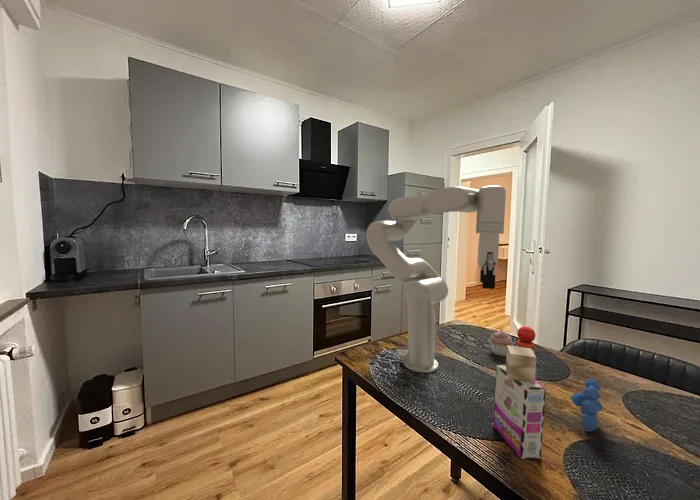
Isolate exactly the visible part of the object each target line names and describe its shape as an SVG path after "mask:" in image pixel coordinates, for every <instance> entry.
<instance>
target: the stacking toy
mask: <svg viewBox="0 0 700 500" xmlns="http://www.w3.org/2000/svg"><path fill="white" fill-rule="evenodd" d="M516 334H517V337H518V340H517V341H516V345H515V346H516V347H524V348H531V350H532V351H533V353H534V354H535V353H536V352H535V343H534V342H533V341H534V340H535V339H536V331H535V330H534V329H533V328H531V327H530V326H526V325H525V326H521V327H518V330H517V331H516ZM537 373H538V369H537V368H536V369H535V381H537V382H538V380H537V378H538V377H537Z"/></svg>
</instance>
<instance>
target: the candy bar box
mask: <svg viewBox="0 0 700 500" xmlns="http://www.w3.org/2000/svg"><path fill="white" fill-rule="evenodd" d="M495 373H496V374H495V389H494V390H495V391H494V405H493V406H494V408H493V423H492V426H493V428H494V429H495V430H496V431H497V432H498V434H499V435H500V436H501V437H502V439H503V440H504V441H505V442H506V443H507V445H508V446H509V447H510V448H511V449H512V450H513V451H514V452H515V454H516V455H517V456H518V457H519V458H520V460H537V459H539V460H540V459H541V458H542V449H543V432H544V419H545V418H544V417H545V405H546V404H545V403H546V391H547V388H546V387H545V386H544V385H542V384H541V383H539V382H538V380H537V381H535V383H529V382H523V381H517V380H511V379H509V377H508V374H507V371H506V364H503V365H502V364H498V365H497V364H496V370H495Z"/></svg>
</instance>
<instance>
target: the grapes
mask: <svg viewBox="0 0 700 500" xmlns="http://www.w3.org/2000/svg"><path fill="white" fill-rule="evenodd" d="M584 386H585V388H584V389H583V390H582V391H581V394H580V393H579V392H576V393H573V394H572V395H571V396H570V397H569V398H570V400H571V401H572V402H573V404H574V405H575V406H577V407H579V408H580V412H581V413H582V415H581V419H582V420H580V421H581V424H582V426H583V427H584V428H585V430H586V431H588V432H593V431H595V430H597V429H598V428H599V426H598V423H600V422H599V419H598V418H597V416H598V413H599V412H600V411H602V410H603V409H604V406H603V405H602V403H601V401H600V400H599V399H600V398H601V393H600V392H599V391H600V390H601V388H602V386H601V385H600V384H599V382H598V381H597V380H596V378H589V379H587V380H586V381H585V382H584Z"/></svg>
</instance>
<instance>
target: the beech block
mask: <svg viewBox="0 0 700 500" xmlns="http://www.w3.org/2000/svg"><path fill="white" fill-rule="evenodd" d="M516 346H517V345H514V346H509V345H507V356H506V358H505V359H506V360H505V365H506V371H507V374H508V377H509V379H511V380H517V381H523V382H529V383H535V369H537V356H536V355H535V354H534V353H533V351H532V350H531V348H524V347H516Z"/></svg>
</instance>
